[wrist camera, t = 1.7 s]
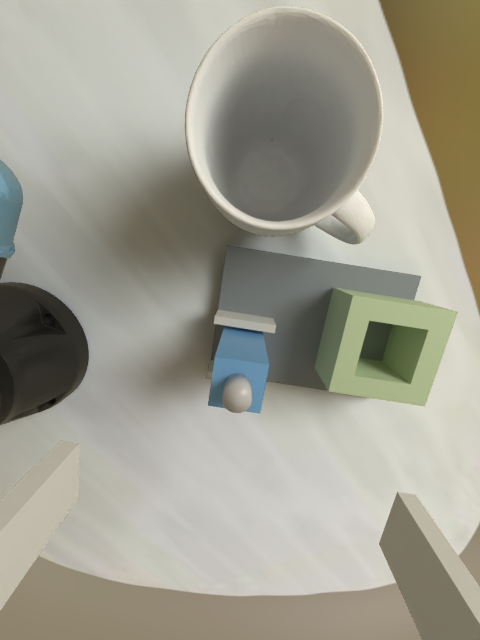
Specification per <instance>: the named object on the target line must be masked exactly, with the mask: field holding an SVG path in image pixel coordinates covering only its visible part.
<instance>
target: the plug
mask: <svg viewBox="0 0 480 640" xmlns="http://www.w3.org/2000/svg"><path fill="white" fill-rule="evenodd" d="M268 369H269V361H268V356H267V351H266V346H265V341H264V335H263V331H257V330H250V329H244V328H237V327H231V326H224V329H223V332H222V336H221V339H220V342H219V345H218V348H217V351H216V355H215V359H214V366H213V373H212V380H211V388H210V395H209V402H208V406H215V407H221V408H226V409H227V410H229V411H231V412H234V413H241V412H244V411H248V412H254V413H260V410H261V405H262V400H263V395H264V390H265V384H266V379H267V374H268Z"/></svg>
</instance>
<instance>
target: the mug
mask: <svg viewBox="0 0 480 640" xmlns="http://www.w3.org/2000/svg"><path fill="white" fill-rule="evenodd" d="M382 127H383V101H382V93H381V88H380V84H379V80H378V77H377V74H376V71H375V69H374V67H373V64H372V62H371V60H370V58H369V56H368V54H367V53H366V51H365V49H364V48H363V47H362V45H361V44H360V42H359V41H358V40H357V39H356V38H355V37H354V36H353V34H352V33H351V32H350V31H349V30H347V29H346V28H345V27H343V26H342V25H341V24H339V23H338V22H336V21H335V20H334V19H332V18H330V17H328V16H326V15H324V14H322V13H319V12H317V11H314V10H310V9H306V8H302V7H293V6H281V7H272V8H267V9H264V10H261V11H257V12H255V13H252V14H250V15H248V16H246V17H245V18H243V19H241V20H240V21H238V22H237V23H235V24H234V25H232V26H231V27H230V28H229V29H227V30H226V31H225V32H224V33H223V34H222V35H221V36H220V37H219V38H218V39H217V40H216V41H215V42H214V44H213V45H212V46H211V47H210V49H209V50H208V52H207V53H206V55H205V56H204V58H203V60H202V61H201V63H200V65H199V67H198V69H197V71H196V73H195V76H194V78H193V81H192V84H191V87H190V90H189V95H188V99H187V105H186V113H185V136H186V144H187V149H188V153H189V157H190V161H191V164H192V167H193V169H194V172H195V174H196V176H197V178H198V180H199V182H200V184H201V186H202V187H203V189H204V190H205V192H206V195H207V196H208V197H209V199H210V200H211V201H212V203H213V204H214V206H215V207H216V208H217V209H218V210H219V211H220V213H221V214H223V216H224V217H226V219H228V220H229V221H230V222H231V223H233V224H235V225H236V226H237V227H240V228H241V229H243V230H246V231H247V232H251V233H253V234H258V235H263V236H282V235H289V234H291V233H296V232H299V231H301V230H304V229H306V228H309V227H311V226H314V225H315V226H316V227H318V228H320V229H321V230H323V231H325V232H326V233H328V234H330V235H332V236H333V237H335V238H337V239H339V240H341V241H344V242H346V243H349V244H359V243H361V242H363V241H364V240H365V239H366V238H367V237H368V236H369V235H370V234H371V232H372V231H373V228H374V226H375V217H374V214H373V212H372V210H371V208H370V206H369V205H368V203H367V201H366V200H365V198H364V197H363V196H362V195H361V194H360V193H359V191H358V189H359V188H360V186H361V185H362V183H363V182H364V180H365V178H366V177H367V175H368V173H369V171H370V169H371V167H372V165H373V162H374V160H375V157H376V155H377V151H378V148H379V145H380V140H381V135H382Z"/></svg>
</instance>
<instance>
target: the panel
mask: <svg viewBox="0 0 480 640" xmlns="http://www.w3.org/2000/svg"><path fill="white" fill-rule="evenodd" d="M420 279H421V276H417V275H411V274H404V273H398V272H392V271H385V270H379V269H373V268H367V267H360V266H354V265H348V264H341V263H335V262H329V261H322V260H316V259H310V258H304V257H297V256H291V255H285V254H278V253H272V252H266V251H259V250H253V249H247V248H241V247H234V246H228V245H227V248H226V255H225V262H224V269H223V277H222V284H221V291H220V298H219V306H218V311H217V312H216V314H215V317H214V324H216V328H215V335H214V342H213V349H212V357H211V362H210V364H209V367H208V370H207V377H206V378H208V379H212V373H213V366H214V359H215V355H216V351H217V348H218V345H219V342H220V339H221V336H222V332H223V329H224V326H231V327H237V328H244V329H250V330H257V331H263V335H264V341H265V346H266V351H267V356H268V361H269V369H268V374H267V379H266V381H270V382H277V383H283V384H290V385H296V386H303V387H309V388H316V389H322V390H327V388H326V386H325V385H324V383H323V381H322V379H321V378H320V376H319V374H318V373H317V371H316V369H315V363H316V358H317V354H318V350H319V346H320V341H321V337H322V333H323V329H324V325H325V320H326V316H327V312H328V308H329V303H330V299H331V295H332V291H333V288H340V289H346V290H352V291H359V292H365V293H371V294H378V295H384V296H390V297H397V298H403V299H409V300H414V298H415V295H416V292H417V288H418V285H419V282H420ZM392 325H393V324H388V323H381V322H375V321H369V323H368V327H367V331H366V334H365V338H364V342H363V345H362V349H361V352H360V356H359V358H364V359H370V360H377V361H382V359H383V355H384V352H385V349H386V345H387V342H388V339H389V335H390V332H391V329H392Z"/></svg>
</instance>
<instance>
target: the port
mask: <svg viewBox="0 0 480 640" xmlns="http://www.w3.org/2000/svg"><path fill="white" fill-rule="evenodd" d="M457 313H458V312H456V311H453V310H449V309H445V308H442V307H438V306H435V305H431V304H428V303H424V302H421V301H416V300H409V299H403V298H397V297H390V296H384V295H378V294H371V293H365V292H359V291H352V290H346V289H340V288H333V291H332V295H331V299H330V303H329V308H328V312H327V316H326V320H325V325H324V329H323V333H322V337H321V341H320V346H319V350H318V354H317V358H316V363H315V369H316V371H317V373H318V374H319V376H320V378H321V379H322V381H323V383H324V385H325V386H326V388H327V390H328V391H329V392H335V393H342V394H348V395H355V396H361V397H368V398H374V399H381V400H387V401H394V402H400V403H407V404H413V405H420V406H425V404H426V401H427V398H428V395H429V392H430V390H431V387H432V384H433V381H434V378H435V375H436V373H437V370H438V367H439V364H440V361H441V358H442V356H443V353H444V350H445V347H446V344H447V341H448V339H449V336H450V333H451V330H452V327H453V324H454V322H455V319H456V316H457ZM369 321H375V322H381V323H388V324H393V325H392V329H391V332H390V335H389V339H388V342H387V345H386V349H385V352H384V355H383V359H382V361H377V360H370V359H364V358H359V356H360V352H361V349H362V345H363V342H364V338H365V334H366V331H367V327H368V323H369Z"/></svg>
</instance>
